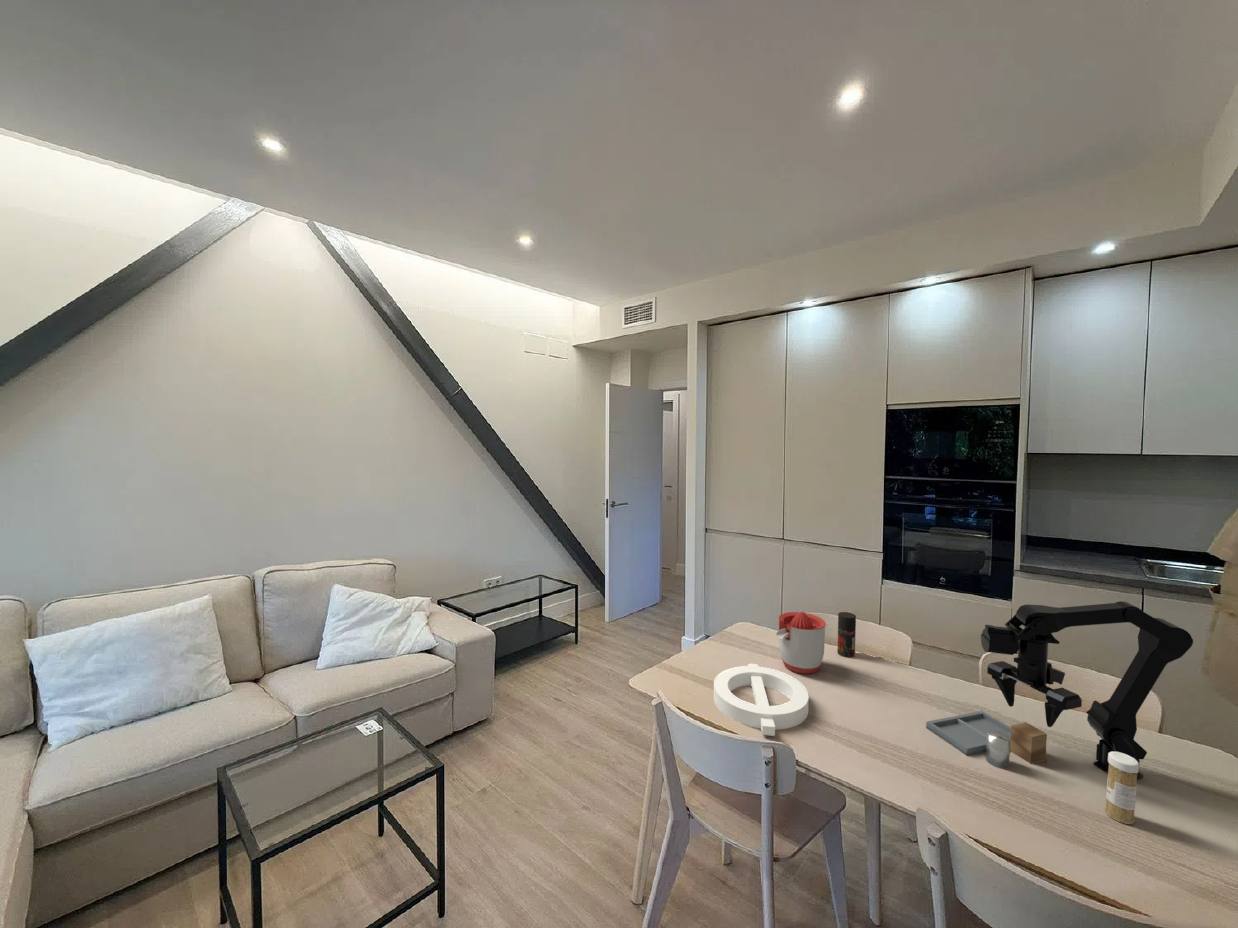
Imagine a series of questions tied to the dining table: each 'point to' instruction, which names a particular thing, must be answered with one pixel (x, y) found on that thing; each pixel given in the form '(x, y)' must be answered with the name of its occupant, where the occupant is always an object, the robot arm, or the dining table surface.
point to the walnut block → (1028, 742)
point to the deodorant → (846, 634)
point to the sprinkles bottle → (1121, 787)
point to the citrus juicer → (801, 641)
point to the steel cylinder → (998, 749)
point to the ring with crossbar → (761, 698)
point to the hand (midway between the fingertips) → (1029, 715)
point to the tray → (967, 730)
